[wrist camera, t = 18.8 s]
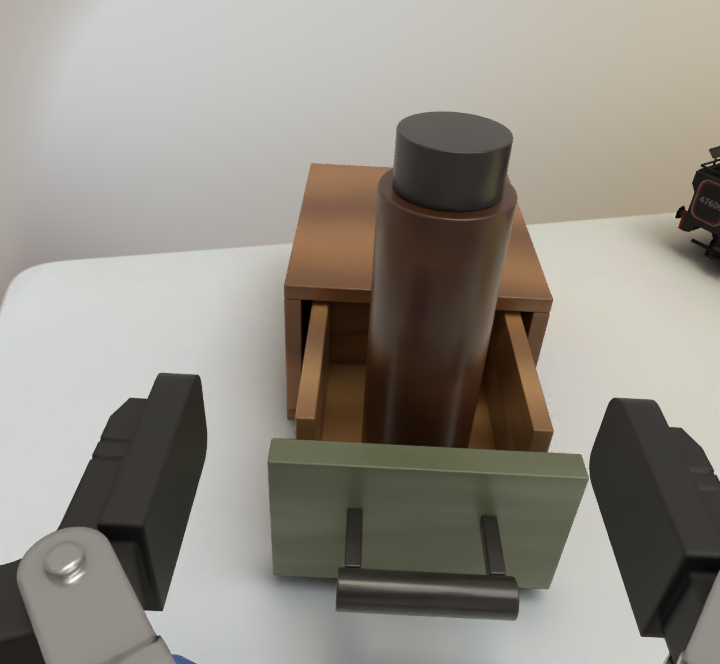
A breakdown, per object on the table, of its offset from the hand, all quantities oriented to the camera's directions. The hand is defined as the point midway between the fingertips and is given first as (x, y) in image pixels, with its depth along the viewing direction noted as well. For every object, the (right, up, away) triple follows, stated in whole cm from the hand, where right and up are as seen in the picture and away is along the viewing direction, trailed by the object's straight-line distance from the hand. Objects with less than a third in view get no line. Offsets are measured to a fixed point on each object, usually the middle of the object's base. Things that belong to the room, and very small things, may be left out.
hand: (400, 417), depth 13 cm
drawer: (+1, -6, +18) cm, 19 cm away
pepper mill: (+2, -5, +18) cm, 19 cm away
